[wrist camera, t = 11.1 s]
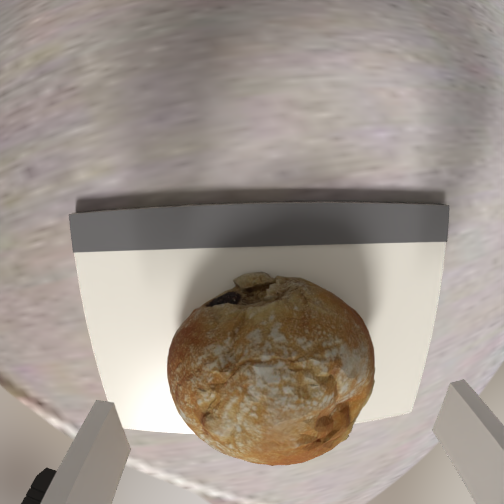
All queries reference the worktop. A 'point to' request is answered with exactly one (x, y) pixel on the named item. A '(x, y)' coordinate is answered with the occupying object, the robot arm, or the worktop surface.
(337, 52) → the worktop surface
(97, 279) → the mat
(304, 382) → the bread roll
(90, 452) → the robot arm
